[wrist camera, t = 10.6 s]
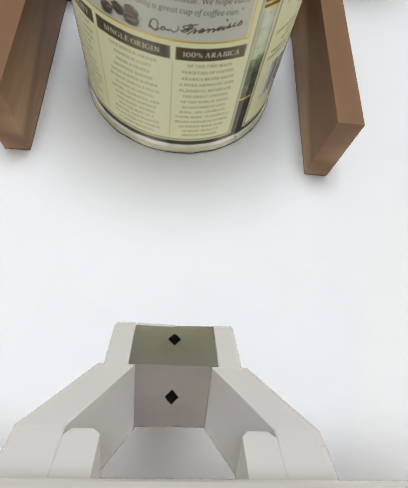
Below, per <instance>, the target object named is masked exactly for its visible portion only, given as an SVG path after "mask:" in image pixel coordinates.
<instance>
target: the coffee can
mask: <svg viewBox="0 0 408 488" xmlns="http://www.w3.org/2000/svg"><path fill="white" fill-rule="evenodd" d="M301 2H302V0H72V5H73V9H74V13H75V18H76V22H77V27H78V31H79V36H80V40H81V44H82V49H83V53H84V58H85V62H86V67H87V71H88V80H89V88H90V91H91V95H92V98H93V100H94V102H95V104H96V106H97V108H98V109H99V111H100V112H101V114H102V115H103V116H104V117H105V118H106V120H107V121H108V122H109V123H110V124H111V125H112V126H113V127H114V128H115V129H116V130H118V131H119V132H121V133H122V134H124V135H126V136H128V137H130V138H131V139H133V140H135V141H137V142H139V143H141V144H143V145H146V146H149V147H153V148H156V149H160V150H165V151H172V152H187V153H193V152H199V151H206V150H212V149H215V148H220V147H223V146H225V145H227V144H230V143H232V142H234V141H236V140H237V139H239V138H241V137H242V136H243V135H245V134H246V133H247V132H248V131H249V130H251V129H252V128H253V127H254V125H255V124H256V123H257V122H258V120H259V119H260V117H261V115H262V113H263V112H264V110H265V107H266V104H267V100H268V95H269V92H270V89H271V86H272V83H273V80H274V78H275V75H276V72H277V69H278V67H279V64H280V61H281V58H282V55H283V53H284V50H285V47H286V44H287V42H288V39H289V36H290V33H291V31H292V28H293V25H294V22H295V19H296V16H297V14H298V11H299V8H300V5H301Z"/></svg>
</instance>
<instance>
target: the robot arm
mask: <svg viewBox="0 0 408 488" xmlns="http://www.w3.org/2000/svg"><path fill="white" fill-rule="evenodd" d="M169 424H170V426H172V427H193V428H205V431H206V433H207V434H208V436H209V437H210V439H211V440H212V442H213V443H214V445H215V446H216V448H217V449H218V451H219V452H220V454H221V455H222V456H223V458H224V459H225V461H226V462H227V464H228V465H229V467H230V468H231V470H232V471H233V473H234V474H235V479H138V478H101V469H102V468H103V467H104V465H105V464H106V463H107V462H108V460H109V459H110V458H111V457H112V455H113V454H114V453H115V452H116V450H117V449H118V448H119V447H120V445H121V444H122V443H123V441H124V440H125V439H126V438H127V436H128V435H129V434H130V433H131V431H132V430H133V428H134V427H151V426H169ZM0 488H408V481H362V480H339V478H338V476H337V473H336V471H335V468H334V466H333V463H332V461H331V458H330V456H329V453H328V451H327V448H326V446H325V443H324V441H323V438H322V436H321V433H320V431H319V430H318V429H316V428H315V427H314V426H313V425H312V424H311V423H309V422H308V421H307V420H306V419H305V418H304V417H303V416H301V415H300V414H299V413H298V412H297V411H296V410H295V409H293V408H292V407H291V406H290V405H289V404H288V403H286V402H285V401H284V400H283V399H282V398H281V397H280V396H278V395H277V394H276V393H275V392H274V391H273V390H272V389H270V388H269V387H268V386H267V385H266V384H265V383H263V382H262V381H261V380H260V379H259V378H258V377H257V376H255V375H254V374H253V373H252V372H251V371H250V370H249V369H247V368H241V363H240V358H239V354H238V349H237V345H236V340H235V336H234V331H233V328H232V327H231V326H213V327H204V326H175V325H164V324H149V323H137V324H136V323H133V322H117V323H116V324H115V327H114V330H113V334H112V337H111V341H110V344H109V348H108V351H107V355H106V358H105V362H104V363H98V364H96V365H95V366H94V367H92V368H91V369H90V370H88V371H87V372H86V373H84V374H83V375H82V376H80V377H79V378H78V379H76V380H75V381H73V382H72V383H71V384H69V385H68V386H67V387H65V388H64V389H63V390H61V391H60V392H59V393H57V394H56V395H55V396H53V397H52V398H51V399H49V400H48V401H46V402H45V403H44V404H42V405H41V406H40V407H38V408H37V409H36V410H34V411H33V412H32V413H30V414H29V415H28V416H26V417H25V418H23V419H22V420H21V421H19V422H18V423H17V424H15V426H14V428H13V430H12V432H11V434H10V436H9V438H8V440H7V442H6V444H5V446H4V448H3V450H2V452H1V454H0Z"/></svg>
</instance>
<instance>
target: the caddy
mask: <svg viewBox="0 0 408 488" xmlns="http://www.w3.org/2000/svg"><path fill="white" fill-rule="evenodd" d="M71 1H72V0H71ZM66 2H67V0H0V141H1V142H2V144H3V145H4V147H5V148H14V149H25V150H30V149H31V145H32V141H33V137H34V133H35V129H36V125H37V120H38V116H39V112H40V108H41V104H42V100H43V96H44V92H45V88H46V84H47V79H48V75H49V71H50V67H51V63H52V59H53V55H54V51H55V47H56V43H57V39H58V34H59V30H60V26H61V22H62V18H63V14H64V10H65V6H66ZM291 34H292V45H293V56H294V66H295V77H296V87H297V98H298V109H299V119H300V130H301V140H302V151H303V162H304V172H305V174H314V175H327V174H328V173H329V171H330V170H331V169H332V168H333V166H334V165H335V164H336V162H337V161H338V160H339V158H340V157H341V156H342V154H343V153H344V152H345V150H346V149H347V148H348V147H349V145H350V144H351V143H352V141H353V140H354V139H355V137H356V136H357V135H358V133H359V132H360V131H361V129H362V128H363V127H364V126H365V124H364V118H363V112H362V107H361V101H360V96H359V90H358V84H357V79H356V73H355V67H354V62H353V56H352V50H351V45H350V39H349V34H348V28H347V22H346V17H345V11H344V5H343V0H302V2H301V5H300V8H299V11H298V14H297V16H296V19H295V22H294V25H293V28H292V31H291Z"/></svg>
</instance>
